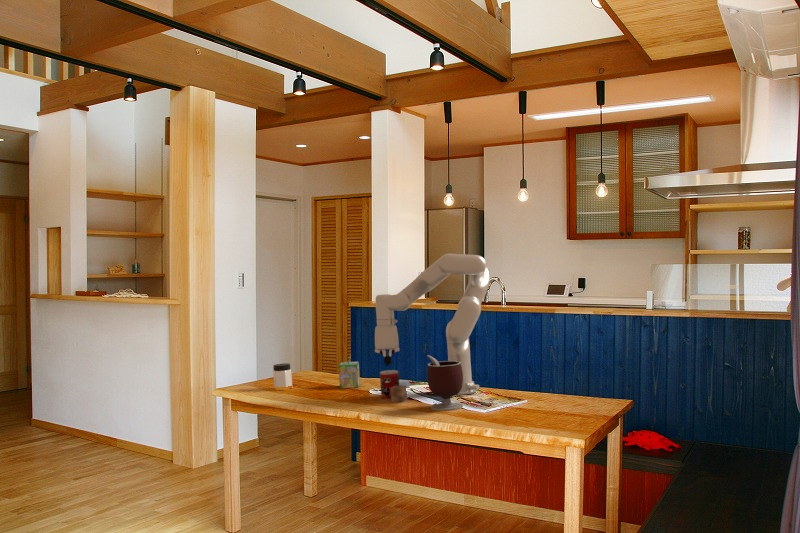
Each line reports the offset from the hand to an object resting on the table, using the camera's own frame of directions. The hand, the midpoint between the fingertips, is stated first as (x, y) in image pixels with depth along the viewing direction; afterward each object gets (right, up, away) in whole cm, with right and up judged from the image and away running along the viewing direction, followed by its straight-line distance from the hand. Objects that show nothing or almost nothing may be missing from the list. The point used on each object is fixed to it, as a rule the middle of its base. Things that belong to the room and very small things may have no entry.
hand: (388, 365), depth 289 cm
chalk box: (-19, -15, +32) cm, 40 cm away
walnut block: (+5, -13, -10) cm, 17 cm away
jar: (-52, -18, +39) cm, 67 cm away
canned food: (+1, -14, 0) cm, 14 cm away
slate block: (+5, -14, +10) cm, 18 cm away
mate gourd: (+23, -12, -29) cm, 39 cm away
